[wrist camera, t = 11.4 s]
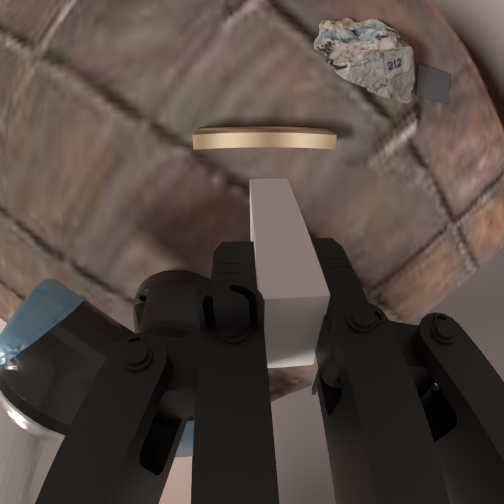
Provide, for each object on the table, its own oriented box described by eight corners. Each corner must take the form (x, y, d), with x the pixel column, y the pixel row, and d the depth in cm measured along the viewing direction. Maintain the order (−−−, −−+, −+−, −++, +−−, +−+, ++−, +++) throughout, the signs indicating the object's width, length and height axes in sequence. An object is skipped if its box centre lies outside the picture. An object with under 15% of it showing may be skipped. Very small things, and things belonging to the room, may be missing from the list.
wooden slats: (197, 141, 29) (193, 149, 27) (192, -30, 18) (187, -39, 15) (327, 141, 30) (335, 149, 27) (331, -26, 18) (340, -34, 15)
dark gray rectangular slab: (415, 95, 26) (416, 95, 26) (417, 63, 23) (418, 63, 23) (446, 103, 26) (447, 104, 26) (449, 74, 23) (450, 74, 23)
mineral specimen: (349, 36, 26) (321, 99, 29) (324, -7, 19) (288, 63, 22) (426, 55, 21) (401, 127, 24) (417, 7, 15) (390, 87, 17)
